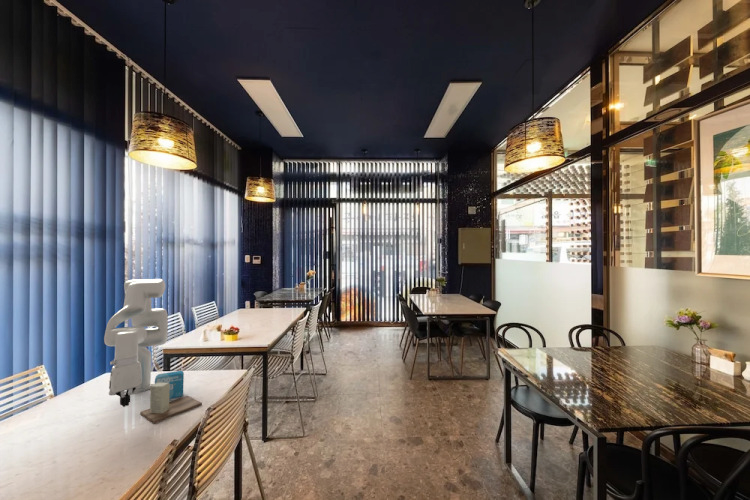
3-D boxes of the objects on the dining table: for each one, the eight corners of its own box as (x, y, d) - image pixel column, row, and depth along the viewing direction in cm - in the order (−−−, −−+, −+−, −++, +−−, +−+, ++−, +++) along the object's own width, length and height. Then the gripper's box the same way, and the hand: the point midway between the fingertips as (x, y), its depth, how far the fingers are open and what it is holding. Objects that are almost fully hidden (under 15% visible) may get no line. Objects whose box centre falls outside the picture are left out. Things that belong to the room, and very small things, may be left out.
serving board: (140, 414, 136) (140, 411, 136) (187, 397, 153) (187, 395, 153) (153, 423, 129) (153, 421, 129) (201, 405, 145) (201, 402, 145)
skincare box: (169, 409, 139) (170, 382, 139) (162, 414, 134) (162, 386, 135) (157, 408, 140) (157, 381, 140) (149, 413, 135) (149, 385, 136)
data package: (154, 402, 148) (154, 377, 149) (154, 398, 152) (155, 374, 152) (183, 396, 155) (183, 372, 155) (183, 393, 158) (183, 370, 159)
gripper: (106, 368, 119) (104, 415, 118) (151, 357, 131) (149, 400, 130) (100, 364, 123) (98, 410, 122) (143, 354, 135) (142, 396, 135)
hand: (125, 405), depth 126 cm, fingers closed
